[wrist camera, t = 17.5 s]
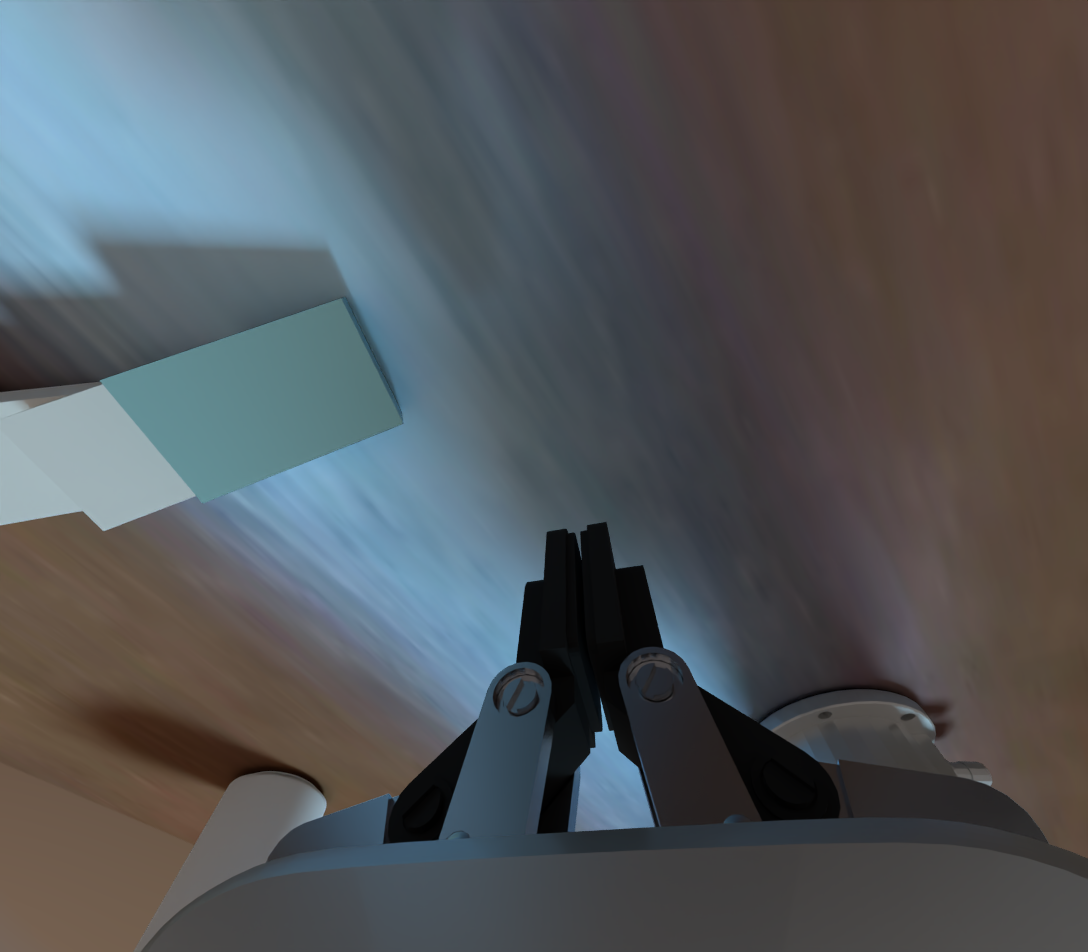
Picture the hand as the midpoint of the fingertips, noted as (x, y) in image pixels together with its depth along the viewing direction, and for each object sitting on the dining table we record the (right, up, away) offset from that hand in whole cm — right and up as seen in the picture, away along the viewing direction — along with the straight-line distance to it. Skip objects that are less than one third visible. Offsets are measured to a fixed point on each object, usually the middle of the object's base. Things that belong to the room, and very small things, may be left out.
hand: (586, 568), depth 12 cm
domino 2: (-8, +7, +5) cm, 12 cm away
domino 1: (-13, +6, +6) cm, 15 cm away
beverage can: (-24, -25, +25) cm, 43 cm away
